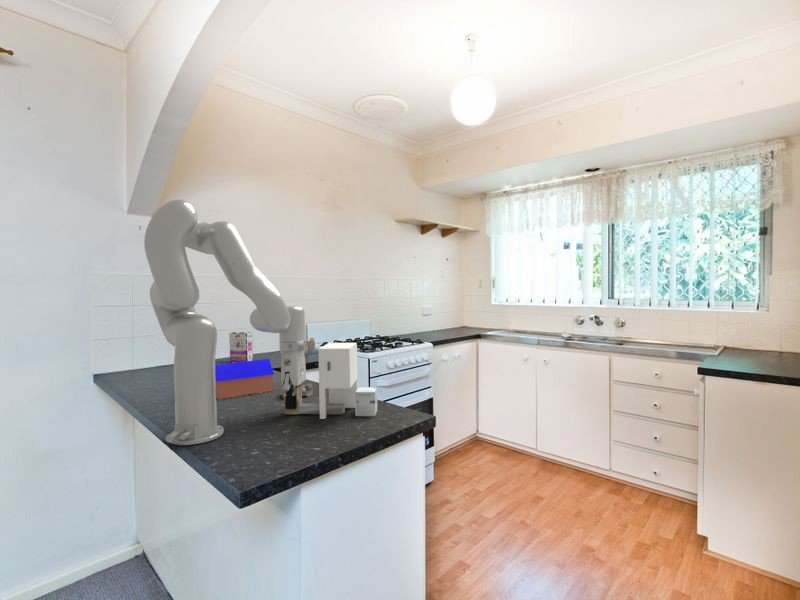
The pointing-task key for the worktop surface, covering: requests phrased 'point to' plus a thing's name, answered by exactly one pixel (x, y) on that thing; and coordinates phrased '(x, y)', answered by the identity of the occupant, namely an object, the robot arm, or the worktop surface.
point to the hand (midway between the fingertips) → (293, 406)
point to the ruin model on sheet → (309, 346)
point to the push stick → (312, 405)
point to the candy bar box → (241, 346)
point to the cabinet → (337, 375)
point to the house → (243, 378)
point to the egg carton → (304, 390)
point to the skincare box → (366, 401)
